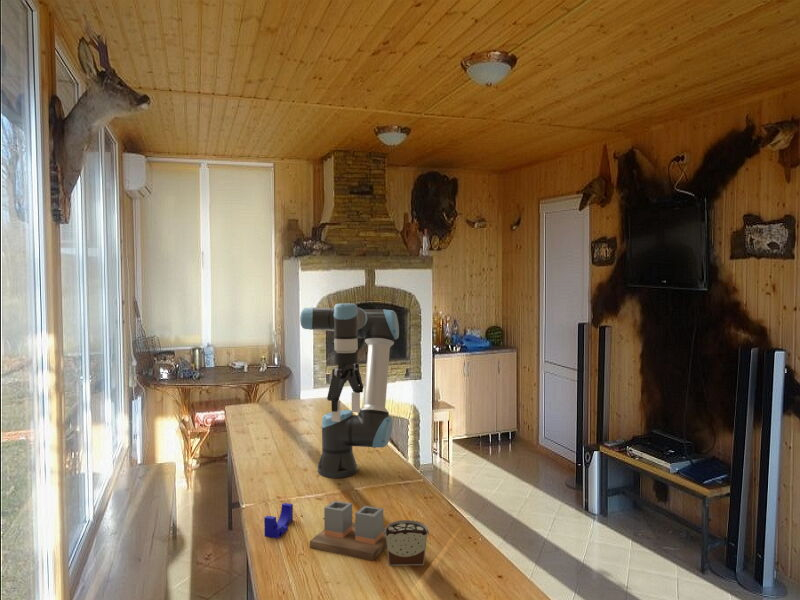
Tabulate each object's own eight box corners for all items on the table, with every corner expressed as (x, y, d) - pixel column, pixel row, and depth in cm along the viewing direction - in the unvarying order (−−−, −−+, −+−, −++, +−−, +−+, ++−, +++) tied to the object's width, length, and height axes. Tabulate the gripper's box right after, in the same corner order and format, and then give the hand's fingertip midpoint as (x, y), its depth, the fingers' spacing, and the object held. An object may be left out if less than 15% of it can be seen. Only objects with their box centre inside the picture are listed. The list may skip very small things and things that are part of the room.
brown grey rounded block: (427, 554, 166) (427, 518, 166) (429, 565, 160) (429, 528, 160) (383, 554, 166) (383, 519, 165) (383, 565, 160) (383, 529, 159)
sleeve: (334, 526, 180) (334, 500, 179) (352, 530, 177) (352, 503, 177) (324, 534, 174) (324, 507, 174) (342, 538, 172) (342, 510, 171)
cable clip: (278, 539, 176) (277, 519, 176) (264, 537, 177) (264, 517, 177) (297, 523, 187) (296, 504, 187) (284, 521, 189) (284, 502, 188)
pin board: (337, 525, 185) (336, 497, 185) (396, 536, 177) (396, 507, 177) (309, 547, 170) (309, 516, 170) (373, 560, 162) (373, 528, 162)
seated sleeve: (364, 532, 176) (364, 505, 175) (383, 535, 173) (383, 508, 173) (355, 540, 170) (355, 513, 170) (374, 544, 168) (374, 516, 167)
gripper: (353, 346, 206) (353, 407, 206) (315, 355, 183) (316, 424, 184) (373, 347, 203) (373, 409, 204) (337, 356, 180) (337, 426, 181)
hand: (346, 416), depth 194 cm, fingers open, 13 cm apart
